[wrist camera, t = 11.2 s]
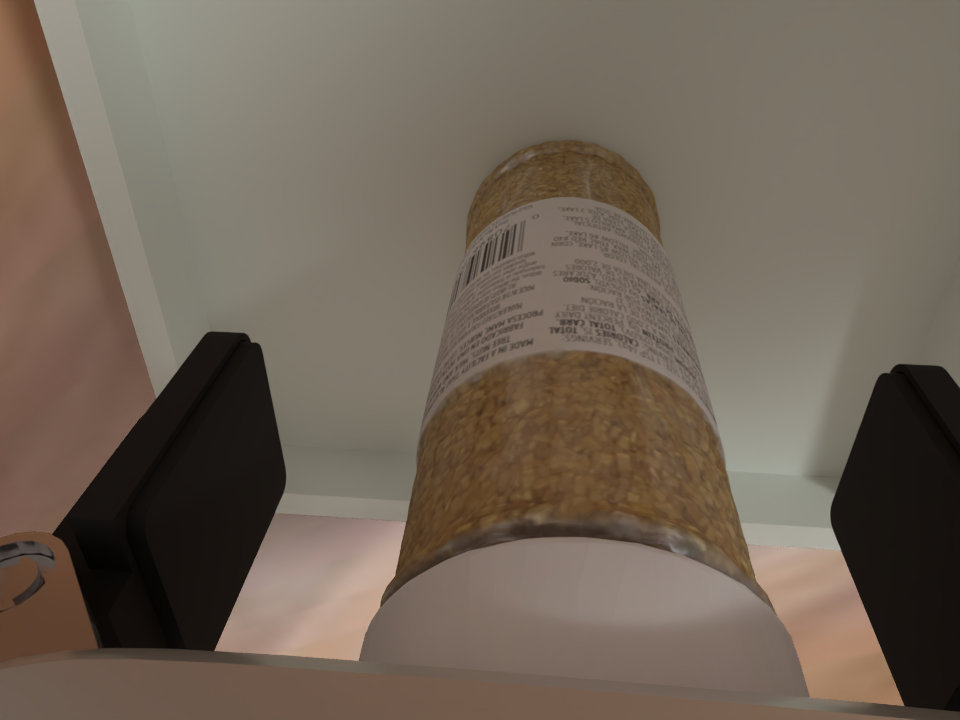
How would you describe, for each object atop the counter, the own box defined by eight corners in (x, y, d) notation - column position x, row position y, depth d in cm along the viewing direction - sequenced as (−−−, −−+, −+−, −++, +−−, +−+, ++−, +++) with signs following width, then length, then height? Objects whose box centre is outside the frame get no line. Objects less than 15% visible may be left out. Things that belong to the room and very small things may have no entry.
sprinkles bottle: (538, 340, 19) (517, 996, 8) (426, 205, 17) (209, 823, 6) (697, 248, 17) (944, 933, 6) (592, 87, 16) (687, 664, 5)
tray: (1147, -189, 13) (1282, -202, 11) (878, 477, 22) (918, 555, 20) (74, -182, 15) (-25, -191, 12) (228, 439, 24) (189, 507, 21)
